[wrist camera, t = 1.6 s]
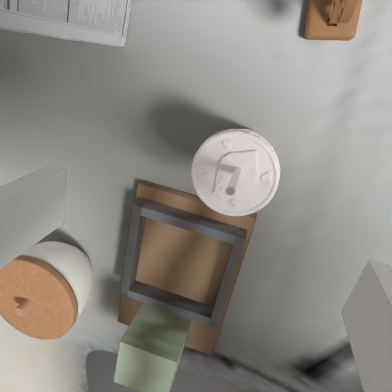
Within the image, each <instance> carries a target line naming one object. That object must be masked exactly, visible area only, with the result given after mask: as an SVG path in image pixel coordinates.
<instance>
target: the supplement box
mask: <svg viewBox="0 0 392 392" xmlns="http://www.w3.org/2000/svg"><path fill="white" fill-rule="evenodd" d="M131 2H132V0H0V29H1V30H8V31H14V32H21V33H28V34H35V35H42V36H48V37H52V38H59V39H63V40H73V41H82V42H88V43H94V44H100V45H107V46H113V47H120V48H124V47H125V44H126V37H127V30H128V23H129V16H130V9H131Z"/></svg>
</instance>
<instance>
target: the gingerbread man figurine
mask: <svg viewBox="0 0 392 392" xmlns="http://www.w3.org/2000/svg"><path fill="white" fill-rule="evenodd" d="M361 4H362V0H309V5H308V12H307V18H306V25H305V32H304V37H305V39H308V40H351V39H353V38H354V36H355V33H356V29H357V24H358V19H359V14H360V9H361Z"/></svg>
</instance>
